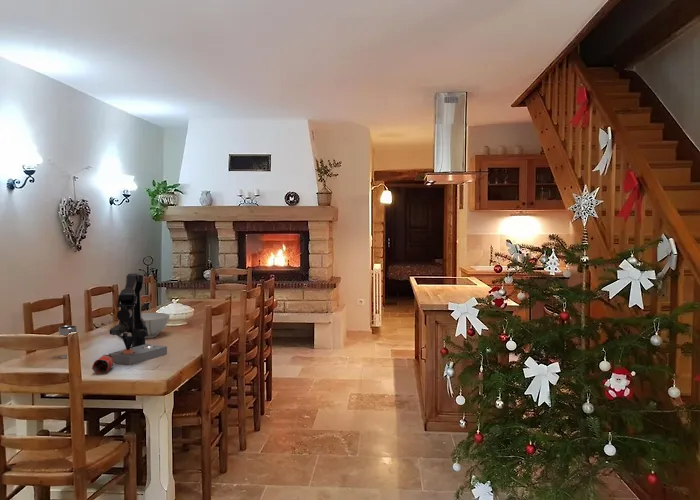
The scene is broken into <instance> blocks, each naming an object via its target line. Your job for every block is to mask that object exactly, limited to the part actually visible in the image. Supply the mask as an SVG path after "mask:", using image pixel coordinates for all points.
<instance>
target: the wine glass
mask: <svg viewBox="0 0 700 500" xmlns="http://www.w3.org/2000/svg"><path fill="white" fill-rule="evenodd" d="M77 330H78V327H77V325H63V326H59V327H58V334H59V336H60V335H67V334H69V333H71V332H76V334H77V333H78V332H77ZM60 359H68V358H67V354H65V355H62V356H60Z"/></svg>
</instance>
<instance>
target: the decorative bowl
mask: <svg viewBox="0 0 700 500" xmlns="http://www.w3.org/2000/svg"><path fill="white" fill-rule="evenodd" d="M170 316H171V315H170V314H168V313H165V312H141V317H142V319H143V320H144V321H145V325H146V327H147V330H148V336H146V337H145V339H151V338H152V339H153V338H156V337H157V336H158V334H159V333H161V332H162V331H163V330H164V329H165V328H166V326H167V324H168V323H169V320H170Z"/></svg>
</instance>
